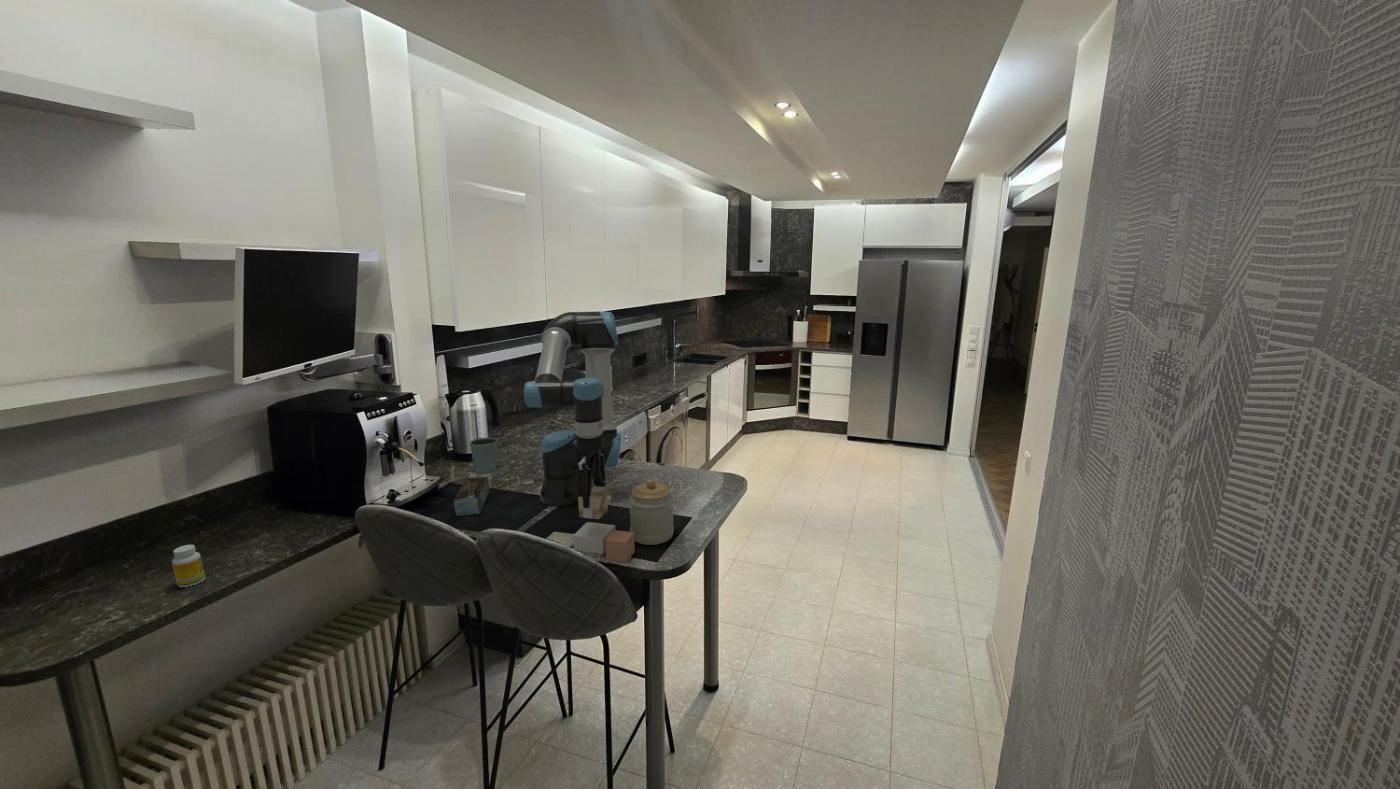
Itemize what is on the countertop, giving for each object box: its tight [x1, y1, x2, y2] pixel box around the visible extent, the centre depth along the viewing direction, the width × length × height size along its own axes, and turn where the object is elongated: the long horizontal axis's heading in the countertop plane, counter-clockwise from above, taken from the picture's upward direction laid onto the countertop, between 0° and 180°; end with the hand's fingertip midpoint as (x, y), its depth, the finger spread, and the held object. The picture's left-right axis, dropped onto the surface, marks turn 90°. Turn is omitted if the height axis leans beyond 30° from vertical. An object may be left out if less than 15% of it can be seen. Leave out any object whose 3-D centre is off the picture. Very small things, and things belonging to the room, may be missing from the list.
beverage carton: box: [453, 476, 490, 517], centre depth 188 cm, size 8×19×7 cm, turn 11°
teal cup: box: [469, 437, 498, 475], centre depth 219 cm, size 10×10×12 cm
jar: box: [628, 479, 675, 546], centre depth 164 cm, size 13×13×18 cm
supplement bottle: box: [171, 544, 206, 588], centre depth 140 cm, size 5×5×10 cm
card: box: [546, 531, 575, 548], centre depth 161 cm, size 9×9×1 cm
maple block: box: [577, 489, 609, 520], centre depth 157 cm, size 6×6×6 cm
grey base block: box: [573, 521, 616, 555], centre depth 159 cm, size 9×9×4 cm
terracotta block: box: [605, 529, 636, 563], centre depth 153 cm, size 6×6×6 cm
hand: (593, 512), depth 158 cm, fingers closed on maple block, 6 cm apart
